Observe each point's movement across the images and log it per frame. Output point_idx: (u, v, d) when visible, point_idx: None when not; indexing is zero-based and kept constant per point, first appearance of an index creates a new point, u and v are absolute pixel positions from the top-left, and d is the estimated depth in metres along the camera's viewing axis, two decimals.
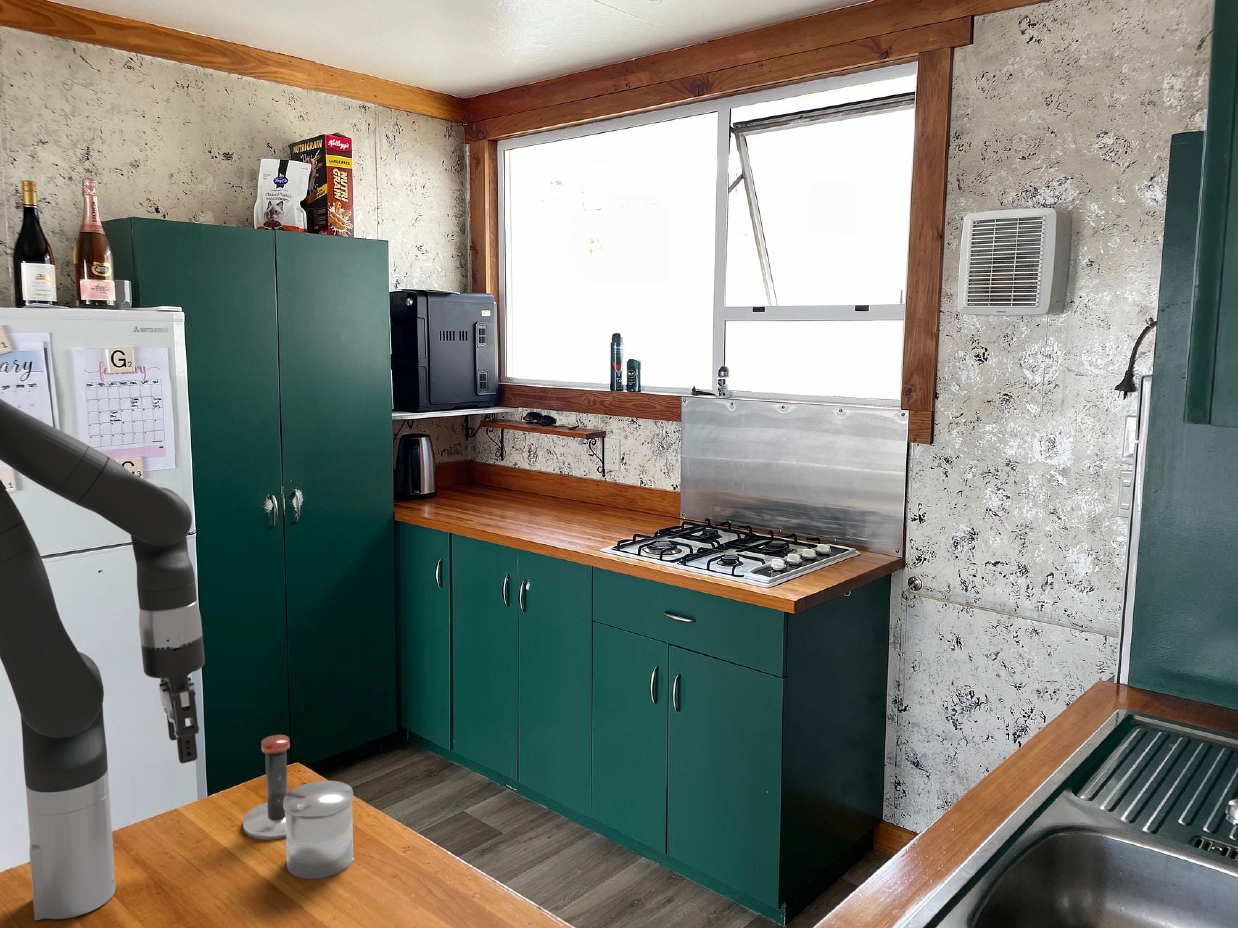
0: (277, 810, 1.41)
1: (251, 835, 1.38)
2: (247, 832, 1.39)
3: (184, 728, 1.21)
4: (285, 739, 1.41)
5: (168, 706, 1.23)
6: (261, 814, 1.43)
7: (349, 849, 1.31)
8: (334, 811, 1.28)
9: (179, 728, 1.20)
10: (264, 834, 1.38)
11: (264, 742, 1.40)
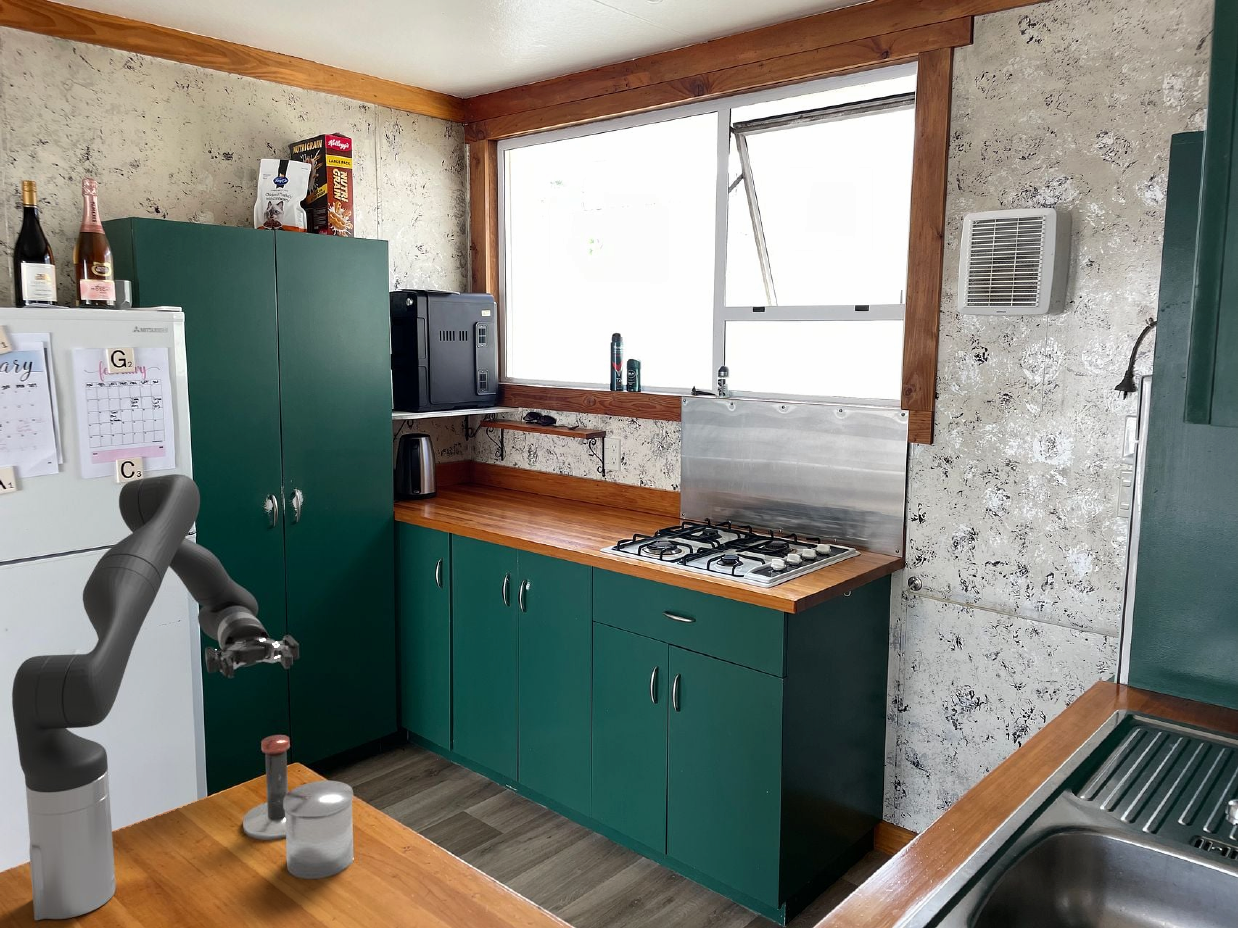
0: (277, 810, 1.41)
1: (251, 835, 1.38)
2: (247, 832, 1.39)
3: None
4: (285, 739, 1.41)
5: (270, 640, 1.57)
6: (261, 814, 1.43)
7: (349, 849, 1.31)
8: (334, 811, 1.28)
9: None
10: (264, 834, 1.38)
11: (264, 742, 1.40)
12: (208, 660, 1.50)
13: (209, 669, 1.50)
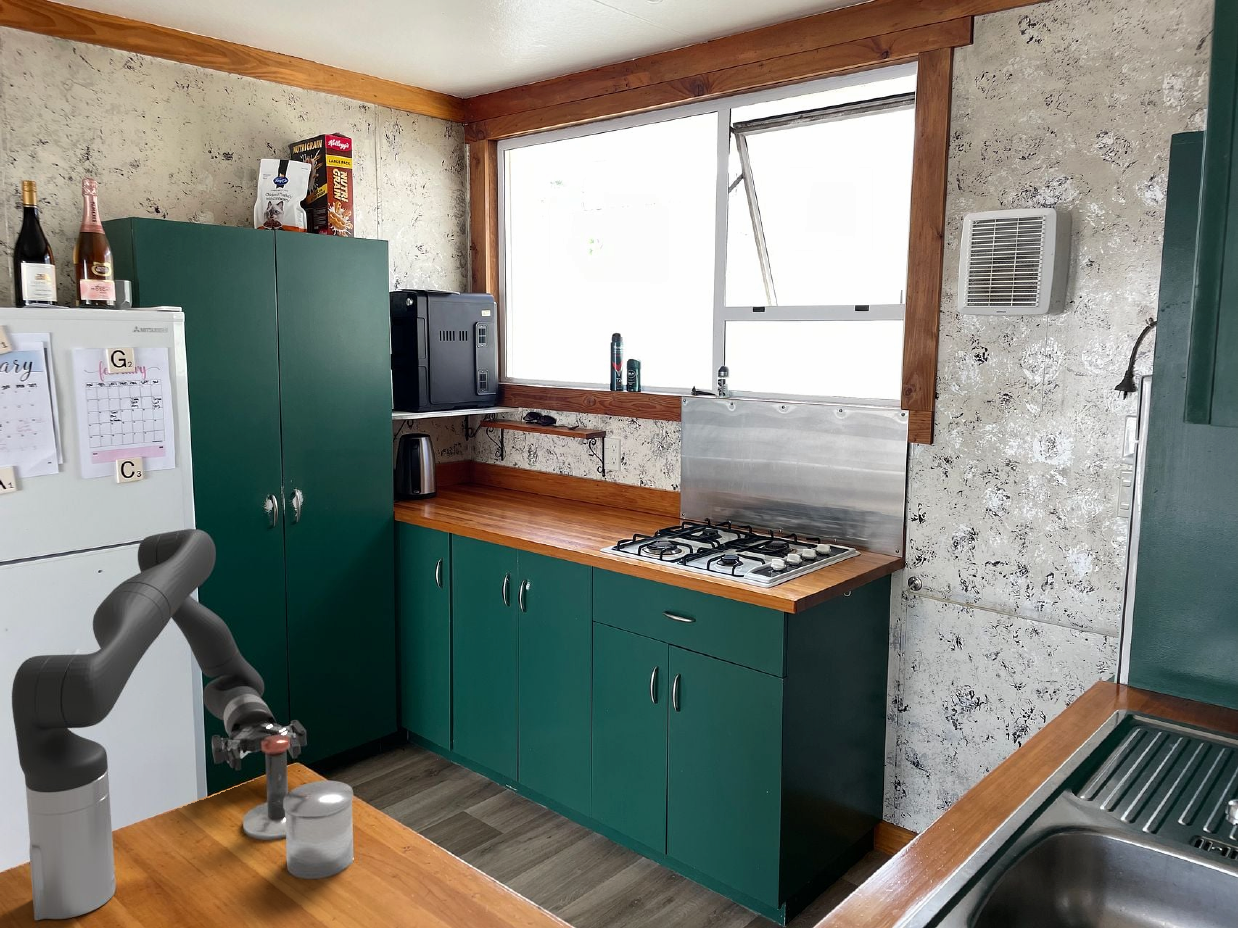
0: (277, 810, 1.41)
1: (251, 835, 1.38)
2: (247, 832, 1.39)
3: None
4: (285, 739, 1.41)
5: (277, 727, 1.55)
6: (261, 814, 1.43)
7: (349, 849, 1.31)
8: (334, 811, 1.28)
9: (304, 729, 1.56)
10: (264, 834, 1.38)
11: (264, 742, 1.40)
12: (214, 751, 1.48)
13: (216, 760, 1.48)
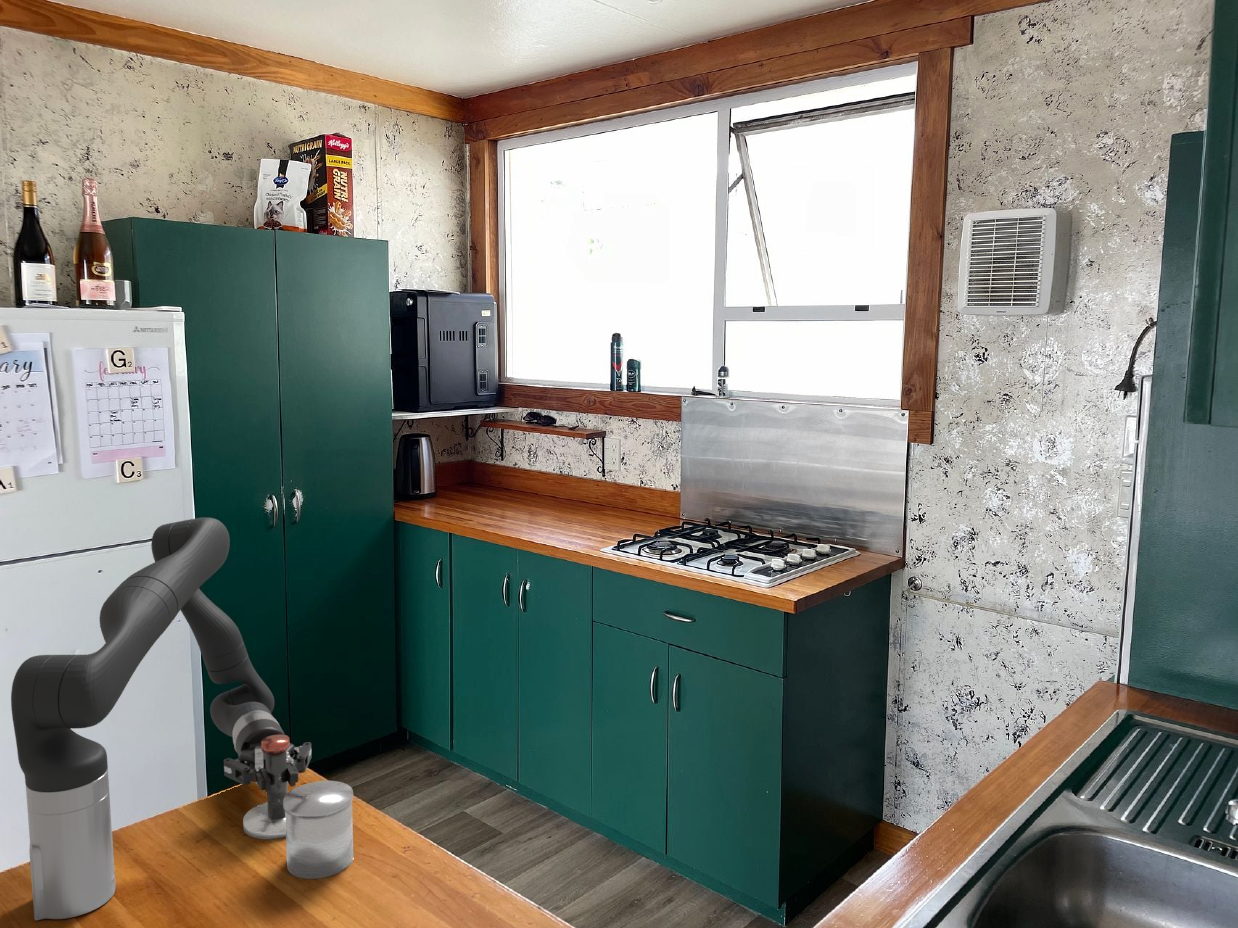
0: (277, 810, 1.41)
1: (251, 835, 1.38)
2: (247, 832, 1.39)
3: None
4: (285, 739, 1.41)
5: None
6: (261, 814, 1.43)
7: (349, 849, 1.31)
8: (334, 811, 1.28)
9: (305, 755, 1.46)
10: (264, 834, 1.38)
11: (264, 742, 1.40)
12: (243, 772, 1.41)
13: (245, 781, 1.41)
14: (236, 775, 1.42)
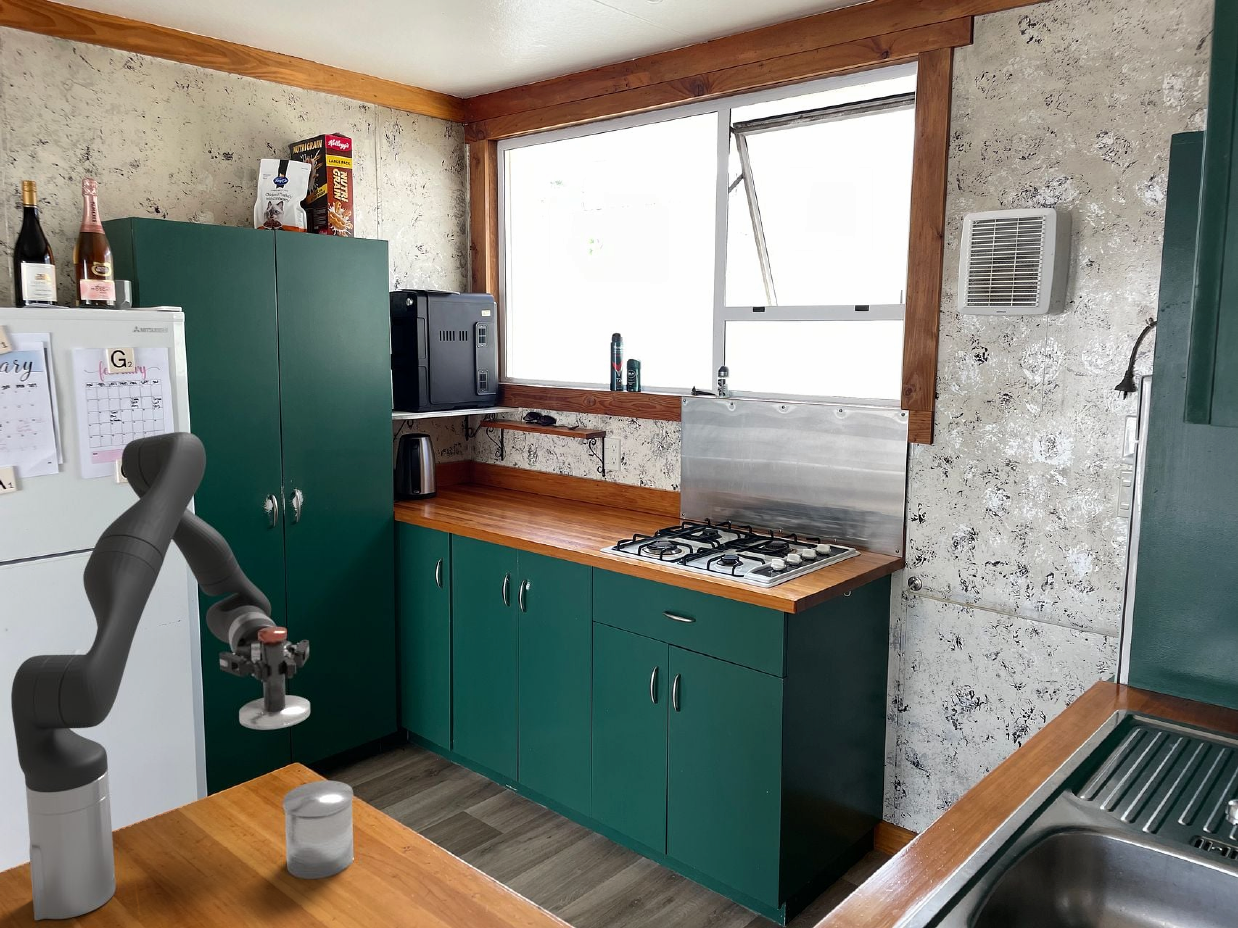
0: (273, 702, 1.38)
1: (247, 725, 1.36)
2: (243, 723, 1.36)
3: None
4: (282, 630, 1.39)
5: None
6: (257, 707, 1.40)
7: (349, 849, 1.31)
8: (334, 811, 1.28)
9: (303, 650, 1.44)
10: (260, 724, 1.35)
11: (261, 632, 1.38)
12: (240, 663, 1.38)
13: (242, 673, 1.38)
14: (232, 667, 1.39)
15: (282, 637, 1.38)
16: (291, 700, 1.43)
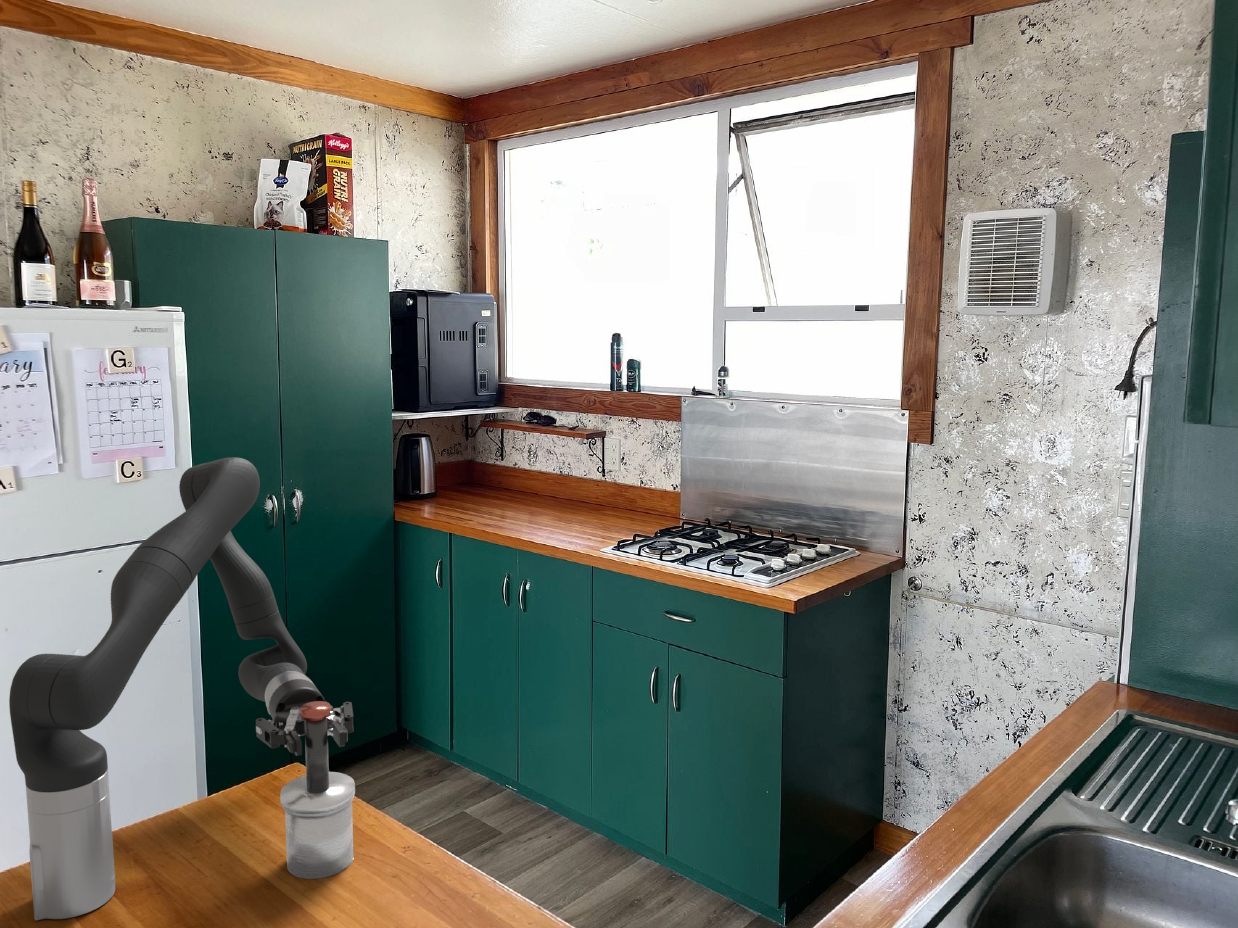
0: (317, 783, 1.29)
1: (290, 809, 1.27)
2: (285, 806, 1.27)
3: None
4: (325, 705, 1.30)
5: None
6: (299, 787, 1.31)
7: (349, 849, 1.31)
8: (334, 811, 1.28)
9: (352, 714, 1.35)
10: (304, 808, 1.26)
11: (303, 708, 1.29)
12: (271, 734, 1.29)
13: (273, 744, 1.29)
14: (265, 737, 1.30)
15: (326, 714, 1.29)
16: (334, 778, 1.34)
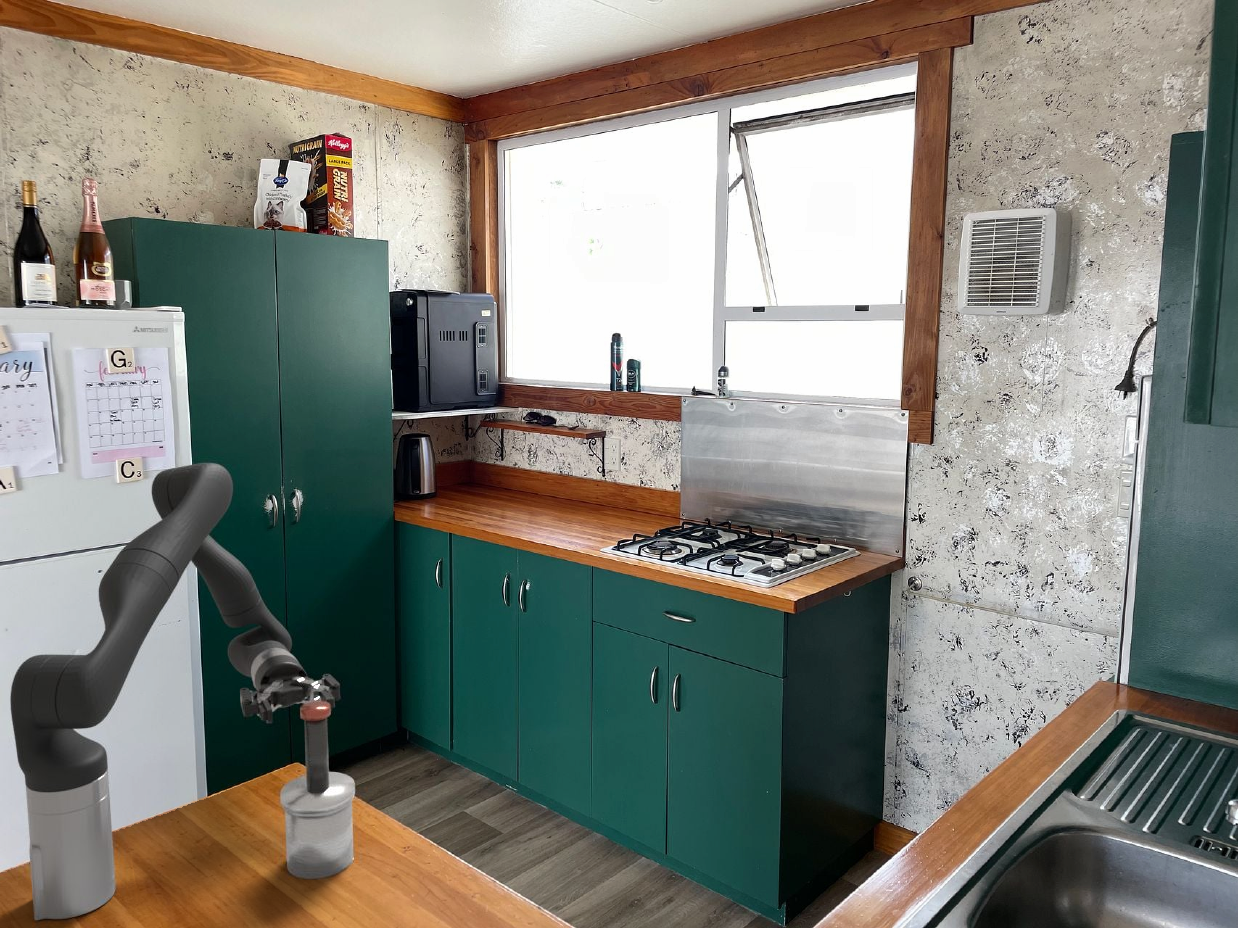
0: (317, 783, 1.29)
1: (290, 809, 1.27)
2: (285, 806, 1.27)
3: None
4: (325, 705, 1.30)
5: (309, 680, 1.47)
6: (299, 787, 1.31)
7: (349, 849, 1.31)
8: (334, 811, 1.28)
9: None
10: (304, 808, 1.26)
11: (303, 708, 1.29)
12: (244, 703, 1.39)
13: (245, 713, 1.39)
14: (243, 705, 1.41)
15: (326, 714, 1.29)
16: (334, 778, 1.34)
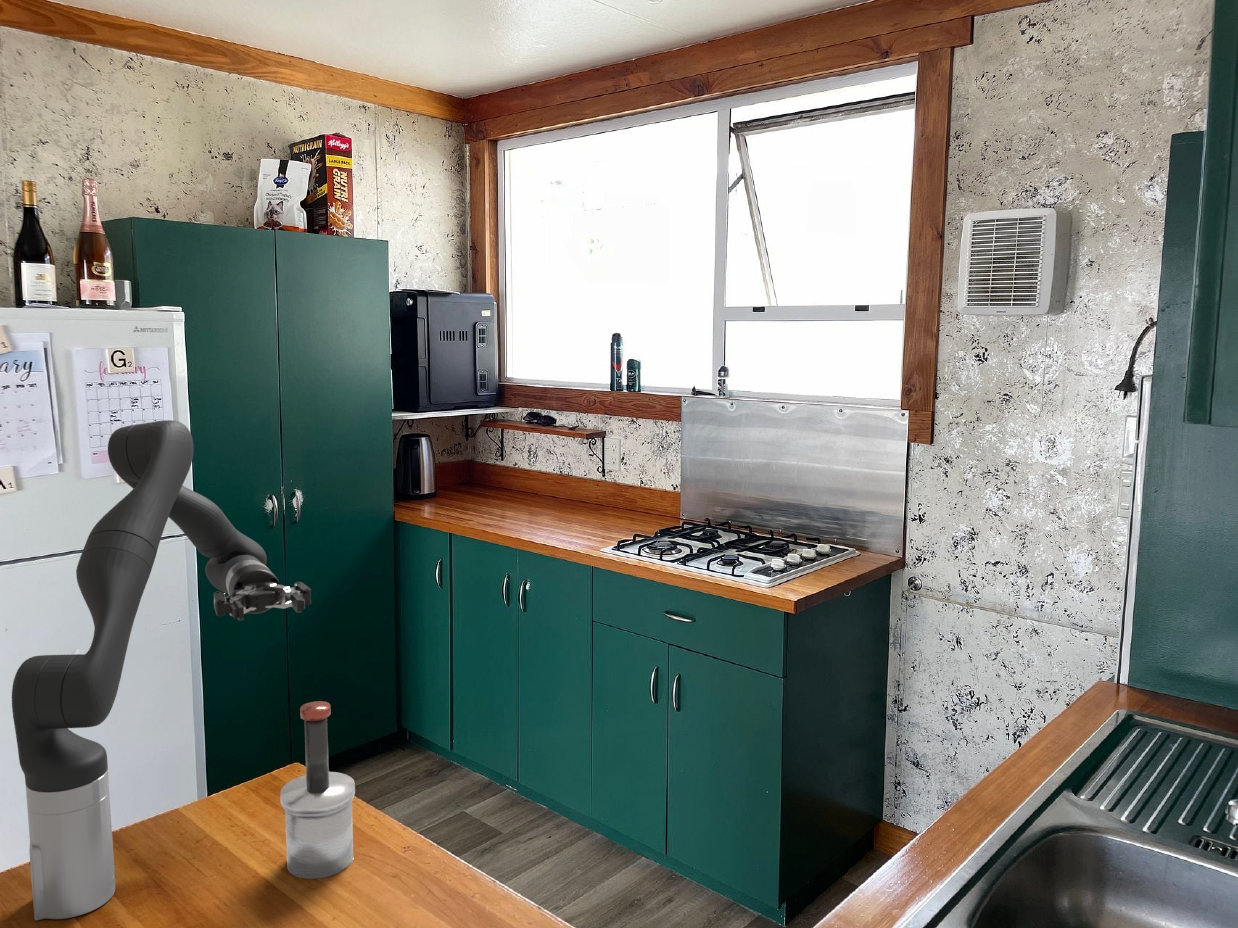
0: (317, 783, 1.29)
1: (290, 809, 1.27)
2: (285, 806, 1.27)
3: None
4: (325, 705, 1.30)
5: (281, 585, 1.51)
6: (299, 787, 1.31)
7: (349, 849, 1.31)
8: (334, 811, 1.28)
9: None
10: (304, 808, 1.26)
11: (303, 708, 1.29)
12: (216, 603, 1.44)
13: (218, 612, 1.44)
14: None
15: (326, 714, 1.29)
16: (334, 778, 1.34)
